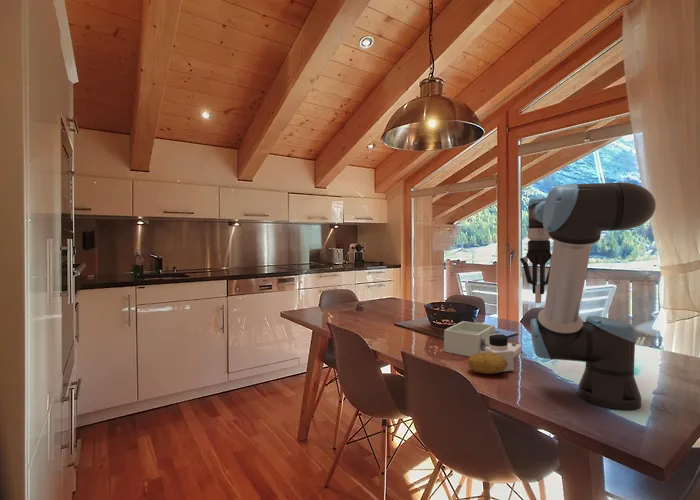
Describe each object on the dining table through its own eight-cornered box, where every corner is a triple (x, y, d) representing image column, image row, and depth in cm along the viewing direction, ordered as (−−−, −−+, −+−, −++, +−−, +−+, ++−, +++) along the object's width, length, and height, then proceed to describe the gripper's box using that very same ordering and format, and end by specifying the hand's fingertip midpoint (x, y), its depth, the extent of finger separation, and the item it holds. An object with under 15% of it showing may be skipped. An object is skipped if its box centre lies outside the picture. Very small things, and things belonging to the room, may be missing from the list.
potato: (470, 366, 138) (471, 347, 138) (508, 372, 132) (508, 352, 132) (465, 373, 130) (466, 353, 130) (505, 380, 124) (505, 359, 124)
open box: (487, 360, 145) (487, 336, 145) (444, 351, 156) (444, 329, 155) (503, 347, 161) (503, 326, 160) (462, 340, 171) (462, 321, 171)
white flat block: (509, 364, 142) (509, 353, 142) (479, 358, 149) (480, 348, 149) (521, 352, 156) (521, 342, 156) (494, 347, 163) (494, 338, 163)
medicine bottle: (514, 370, 132) (512, 336, 132) (494, 372, 131) (493, 338, 131) (504, 364, 139) (502, 331, 139) (485, 366, 138) (484, 333, 138)
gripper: (560, 239, 140) (559, 303, 141) (523, 239, 148) (522, 299, 149) (556, 240, 134) (555, 305, 135) (517, 239, 143) (517, 302, 143)
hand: (538, 302), depth 142 cm, fingers closed
